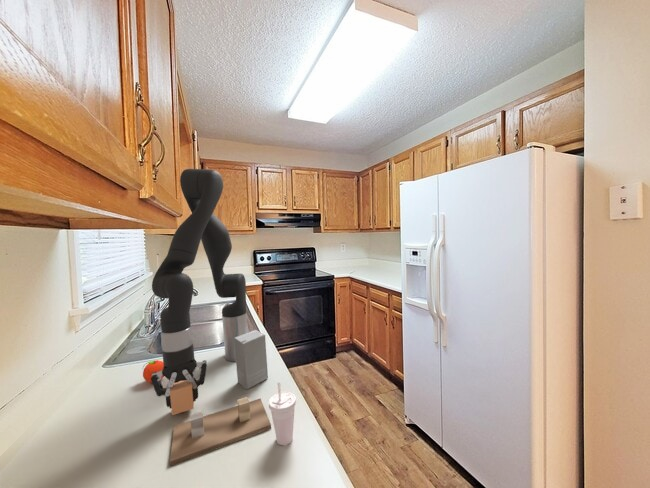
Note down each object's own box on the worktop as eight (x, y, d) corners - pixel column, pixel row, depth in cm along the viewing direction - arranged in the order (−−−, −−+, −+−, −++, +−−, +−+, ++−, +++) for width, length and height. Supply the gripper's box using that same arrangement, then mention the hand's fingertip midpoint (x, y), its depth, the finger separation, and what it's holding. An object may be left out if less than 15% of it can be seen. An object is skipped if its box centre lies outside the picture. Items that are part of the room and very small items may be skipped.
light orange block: (173, 403, 76) (171, 381, 76) (193, 398, 78) (192, 376, 78) (172, 415, 71) (169, 391, 71) (193, 408, 74) (191, 385, 73)
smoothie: (269, 433, 65) (265, 378, 64) (294, 425, 68) (291, 372, 67) (273, 454, 59) (269, 393, 58) (301, 444, 62) (298, 385, 61)
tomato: (135, 387, 89) (133, 366, 88) (150, 375, 96) (148, 356, 95) (158, 387, 88) (156, 366, 88) (171, 375, 95) (170, 356, 95)
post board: (174, 429, 68) (172, 408, 68) (260, 401, 78) (259, 383, 78) (170, 465, 58) (168, 441, 57) (271, 428, 67) (269, 407, 67)
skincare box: (258, 372, 94) (255, 328, 93) (269, 379, 89) (266, 333, 88) (235, 383, 88) (232, 336, 87) (246, 391, 83) (243, 341, 82)
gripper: (205, 334, 80) (210, 388, 81) (149, 345, 74) (155, 403, 75) (206, 343, 73) (211, 402, 74) (144, 356, 67) (150, 420, 68)
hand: (183, 403), depth 75 cm, fingers closed on light orange block, 5 cm apart
